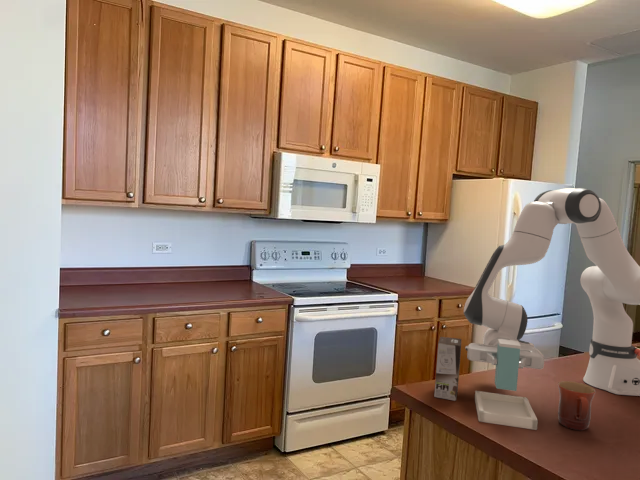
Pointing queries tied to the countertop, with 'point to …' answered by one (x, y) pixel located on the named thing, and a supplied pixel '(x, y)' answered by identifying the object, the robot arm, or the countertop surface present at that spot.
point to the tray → (505, 410)
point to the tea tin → (507, 364)
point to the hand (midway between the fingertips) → (507, 363)
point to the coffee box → (447, 368)
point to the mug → (575, 404)
